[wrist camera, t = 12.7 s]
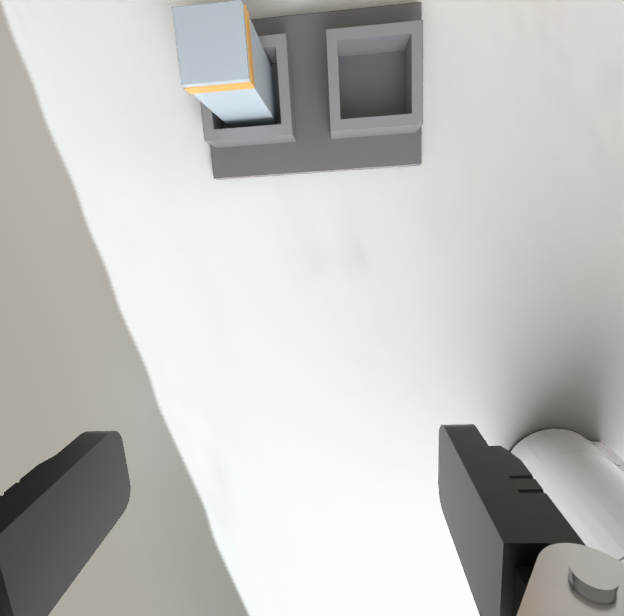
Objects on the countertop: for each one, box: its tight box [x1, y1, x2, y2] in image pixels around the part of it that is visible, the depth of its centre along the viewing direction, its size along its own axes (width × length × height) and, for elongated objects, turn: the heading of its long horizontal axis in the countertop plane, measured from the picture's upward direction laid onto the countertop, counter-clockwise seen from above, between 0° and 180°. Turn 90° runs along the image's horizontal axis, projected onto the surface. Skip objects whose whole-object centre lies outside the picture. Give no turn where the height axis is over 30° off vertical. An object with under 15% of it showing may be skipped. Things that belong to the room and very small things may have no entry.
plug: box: [172, 0, 277, 128], centre depth 28 cm, size 4×4×11 cm
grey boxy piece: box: [200, 2, 423, 180], centre depth 32 cm, size 18×12×4 cm, turn 94°
